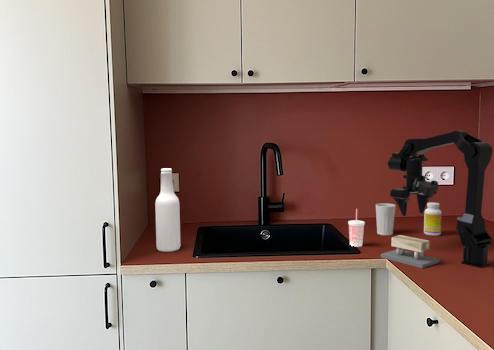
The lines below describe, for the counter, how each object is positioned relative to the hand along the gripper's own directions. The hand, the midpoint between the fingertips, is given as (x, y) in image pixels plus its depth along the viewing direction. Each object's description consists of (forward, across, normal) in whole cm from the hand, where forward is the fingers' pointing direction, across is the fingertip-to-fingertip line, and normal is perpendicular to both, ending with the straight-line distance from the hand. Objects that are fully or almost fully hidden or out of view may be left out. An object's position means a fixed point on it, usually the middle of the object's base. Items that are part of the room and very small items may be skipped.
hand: (412, 214), depth 181 cm
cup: (+12, +7, +20) cm, 24 cm away
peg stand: (+12, -15, -12) cm, 22 cm away
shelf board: (+8, -15, -12) cm, 20 cm away
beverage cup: (+12, -16, +12) cm, 24 cm away
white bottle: (+12, -79, +45) cm, 92 cm away
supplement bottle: (+12, +22, +9) cm, 27 cm away
